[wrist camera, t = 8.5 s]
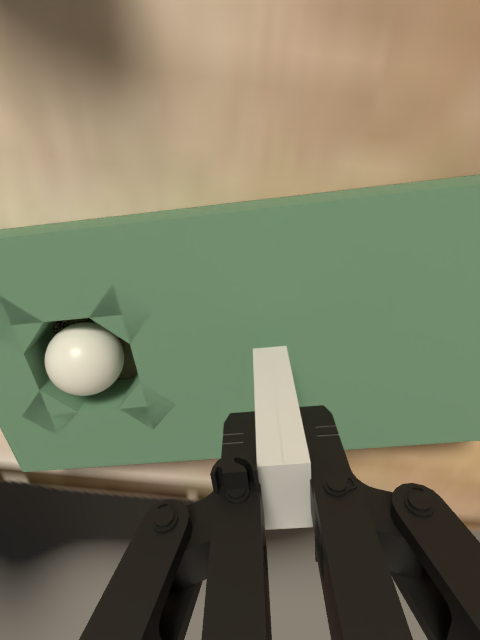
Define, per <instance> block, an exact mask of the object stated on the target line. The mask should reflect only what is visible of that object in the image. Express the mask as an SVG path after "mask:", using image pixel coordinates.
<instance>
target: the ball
mask: <svg viewBox="0 0 480 640" xmlns="http://www.w3.org/2000/svg"><path fill="white" fill-rule="evenodd" d="M123 364H124V351H123V347H122V344H121V342H120V340H119V339H118V337H117V336H116V335H115V334H113V333H112V332H110V331H109V330H107V329H106V328H104V327H102V326H101V325H99V324H96V323H90V322H82V323H76V324H73V325H70V326H68V327H66V328H64V329H62V330H61V331H59V332H58V333H57V334H56V335H55V336H54V337H53V338H52V340H51V341H50V343H49V345H48V347H47V349H46V353H45V369H46V372H47V374H48V376H49V378H50V380H51V381H52V382H53V384H54V385H55V386H57V387H58V388H59V389H61V390H62V391H64V392H66V393H69V394H72V395H77V396H89V395H93V394H97V393H99V392H102V391H104V390H105V389H107V388H108V387H110V386H111V385H112V384H113V383H114V382H115V381H116V380H117V378H118V377H119V375H120V373H121V371H122V368H123Z"/></svg>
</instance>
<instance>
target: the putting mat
mask: <svg viewBox="0 0 480 640" xmlns="http://www.w3.org/2000/svg"><path fill="white" fill-rule="evenodd" d="M81 318H90V319H92V320H93V321H95V322H96V323H98V324H99V325H101V326H102V327H104V328H106V329H107V330H109V331H110V332H112V333H113V334H115V335H116V336H118V337H120V338H121V339H123V340H124V341H126V342H127V343H129V344H130V347H131V350H132V354H133V358H134V361H135V365H136V368H137V372H138V373H137V375H136V376H135V377H134V378H127V379H117V380H116V381H115V382H114V383H113V384H112V385H111V386H110V387H108V388H107V389H105V390H104V391H102V392H99V393H97V394H93V395H89V396H77V395H72V394H69V393H66V392H64V391H62V390H61V389H59V388H58V387H57V386H55V385H54V384H53V382H52V381H51V380H50V378H49V376H48V374H47V372H46V369H45V353H46V349H47V347H48V345H49V343H50V341H51V340H52V338H53V337H54V336H55V333H54V330H53V326H54V325H55V323H56V321H60V320H71V319H81ZM278 346H287V351H288V356H289V361H290V366H291V370H292V375H293V380H294V385H295V390H296V394H297V399H298V404H299V407H305V406H319V405H324V406H325V407H326V408H327V409H328V410H329V411H330V412H331V413H332V415H333V418H334V421H335V424H336V427H337V430H338V433H339V436H340V439H341V442H342V445H343V448H344V450H350V449H365V448H379V447H394V446H408V445H423V444H437V443H452V442H467V441H480V175H472V176H463V177H454V178H446V179H437V180H428V181H420V182H411V183H402V184H393V185H385V186H376V187H367V188H359V189H350V190H341V191H333V192H324V193H315V194H306V195H298V196H289V197H280V198H272V199H263V200H254V201H245V202H237V203H228V204H219V205H211V206H202V207H193V208H184V209H176V210H167V211H158V212H150V213H141V214H132V215H124V216H115V217H106V218H97V219H89V220H80V221H71V222H63V223H54V224H45V225H36V226H28V227H19V228H10V229H2V230H0V428H1V430H2V432H3V434H4V436H5V438H6V440H7V442H8V444H9V446H10V448H11V450H12V452H13V454H14V456H15V458H16V460H17V462H18V463H19V465H20V467H21V469H22V471H23V472H29V471H44V470H58V469H73V468H87V467H102V466H117V465H131V464H146V463H160V462H175V461H190V460H204V459H219V458H221V452H222V439H223V427H224V422H225V420H226V419H227V417H228V416H229V414H230V413H238V412H251V411H255V398H254V370H253V349H255V348H266V347H278Z"/></svg>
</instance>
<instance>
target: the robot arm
mask: <svg viewBox="0 0 480 640" xmlns="http://www.w3.org/2000/svg"><path fill="white" fill-rule="evenodd" d="M253 370H254V398H255V411H251V412H238V413H230V414H229V416H228V417H227V419H226V420H225V422H224V427H223V439H222V452H221V459H220V460H218V461H217V462H216V464H215V465H214V466H213V468H212V471H211V473H210V475H211V480H212V485H213V490H214V491H213V492H212V493H211V494H210V495H208V496H207V497H206V498H204V499H202V500H200V501H198V502H195V503H192V504H190V505H187V506H185V505H184V504H183V503H182V502H181V501H178V500H175V499H168V500H164V501H161V502H158V503H157V504H155V505H154V506H152V507H151V508H150V509H149V510H148V511H147V513H146V514H145V516H144V517H143V519H142V521H141V523H140V525H139V527H138V529H137V530H136V532H135V534H134V536H133V538H132V540H131V542H130V544H129V546H128V548H127V549H126V551H125V553H124V555H123V557H122V559H121V561H120V563H119V565H118V567H117V569H116V570H115V572H114V574H113V576H112V578H111V580H110V582H109V584H108V586H107V588H106V589H105V591H104V593H103V595H102V597H101V599H100V601H99V603H98V605H97V606H96V608H95V610H94V612H93V614H92V616H91V618H90V620H89V622H88V624H87V626H86V627H85V629H84V631H83V633H82V635H81V637H80V639H79V640H184V638H185V635H186V632H187V629H188V626H189V622H190V619H191V616H192V613H193V610H194V607H195V603H196V600H197V597H198V594H199V591H200V588H201V584H202V581H203V580H205V579H207V584H206V597H205V608H204V618H203V630H202V640H272V635H271V616H270V599H269V581H268V564H267V563H268V562H267V547H266V538H265V530H267V529H268V530H269V529H286V528H304V527H314V533H315V555H316V556H315V557H316V558H315V559H316V562H318V565H319V571H320V577H321V583H322V589H323V594H324V600H325V606H326V612H327V617H328V623H329V629H330V635H331V640H413V638H412V636H411V633H410V630H409V627H408V624H407V621H406V618H405V615H404V612H403V609H402V606H401V603H400V600H399V597H398V594H397V591H396V588H395V586H394V582H393V580H394V581H395V583H396V585H397V586H398V588H399V590H400V592H401V593H402V595H403V597H404V599H405V600H406V602H407V604H408V605H409V607H410V609H411V611H412V612H413V614H414V616H415V618H416V619H417V621H418V623H419V625H420V626H421V628H422V630H423V632H424V633H425V635H426V637H427V638H428V640H480V542H479V541H478V540H477V539H476V538H475V536H474V535H473V534H472V533H471V532H470V531H469V530H468V528H467V527H466V526H465V525H464V524H463V523H462V521H461V520H460V519H459V518H458V517H457V516H456V514H455V513H454V512H453V511H452V510H451V509H450V507H449V506H448V505H447V504H446V503H445V502H444V500H443V499H442V498H441V497H440V496H439V495H438V494H436V493H435V492H434V491H433V490H431V489H429V488H427V487H425V486H423V485H419V484H414V483H408V484H402V485H400V486H399V487H397V488H396V489H395V490H394V492H389V491H384V490H379V489H376V488H372V487H369V486H367V485H366V484H364V483H362V482H361V481H360V480H358V479H357V478H356V477H355V476H354V474H353V473H352V471H351V469H350V467H349V463H348V460H347V457H346V454H345V451H344V448H343V445H342V442H341V439H340V436H339V433H338V430H337V427H336V424H335V421H334V418H333V415H332V413H331V412H330V411H329V410H328V409H327V408H326V407H325V406H324V405H319V406H305V407H299V404H298V399H297V394H296V390H295V385H294V380H293V375H292V370H291V366H290V361H289V356H288V351H287V346H278V347H266V348H255V349H253ZM391 576H392V577H391ZM392 578H393V579H392Z"/></svg>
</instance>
